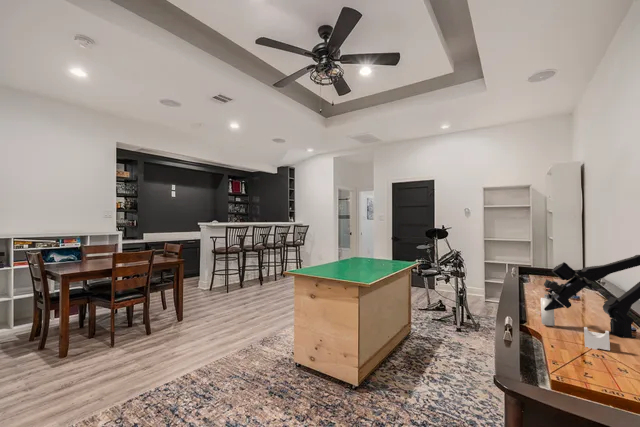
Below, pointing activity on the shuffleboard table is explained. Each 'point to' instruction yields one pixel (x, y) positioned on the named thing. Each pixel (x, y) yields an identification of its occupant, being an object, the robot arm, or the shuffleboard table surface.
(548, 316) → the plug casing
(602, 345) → the bracket
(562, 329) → the shuffleboard table surface
